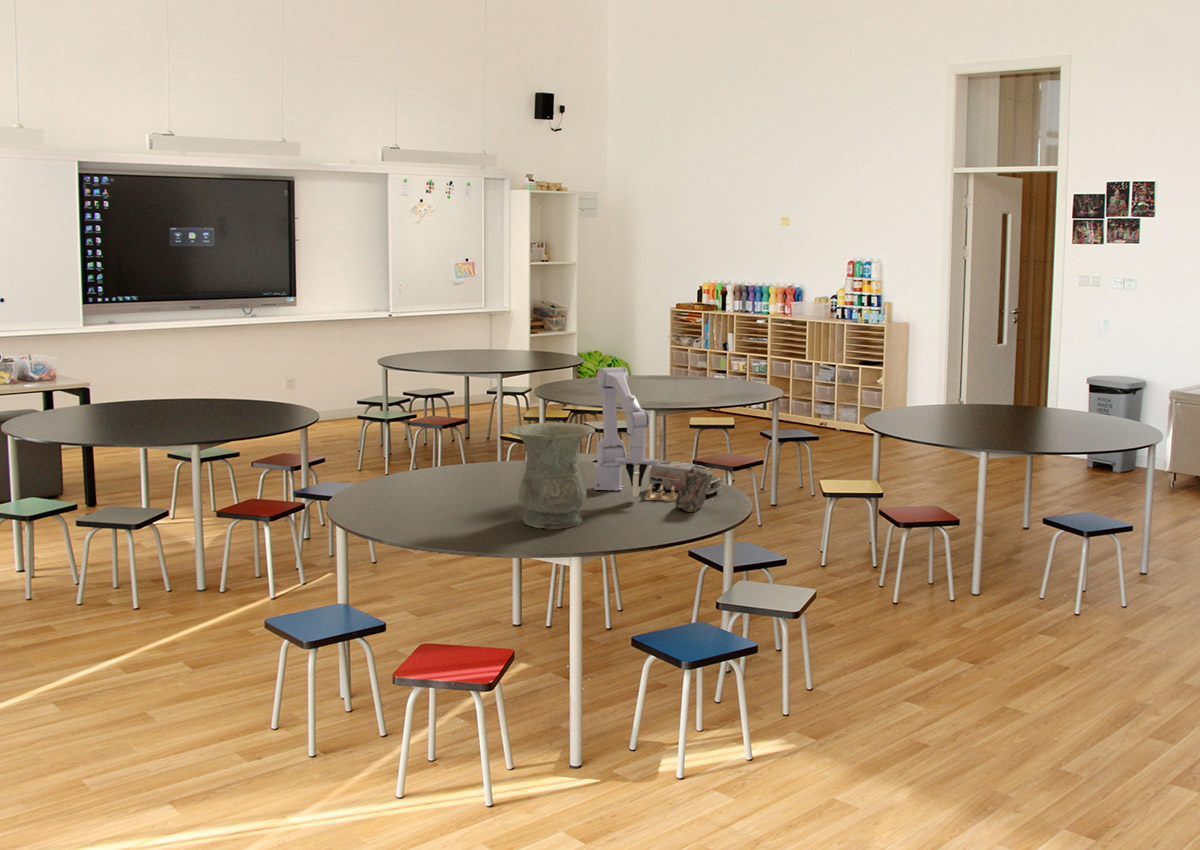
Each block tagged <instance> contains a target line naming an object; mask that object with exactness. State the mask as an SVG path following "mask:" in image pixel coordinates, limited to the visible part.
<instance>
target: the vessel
mask: <svg viewBox="0 0 1200 850" xmlns="http://www.w3.org/2000/svg"><path fill="white" fill-rule="evenodd" d="M595 432H596V429H595V427H593V426H590V425H588V424H582V423H581V424H580V423H570V422H568V423H567V422H539V423H537V422H536V423H532V424H531V423H530V424H522V425H516V426H513V427H510V428H509V429H508V433H509V434H510V435H512V436H515V437H518V438H520V440H522V442H523V445H524V447H525V451H526V464H525V471H524V473H523V474H524V475H523V477H522V479H521V480H520V486H519V490H518V501H519V503H520V504H521V506H522V507H523V508H524V509H525V510H527V513H526V515H524V517H522V519H523V520H522V521H523V524H525V525H526V526H528V527H531V526H532V527H533V528H536V529H541V528H545V529H544V530H563V529H562V528H565V529H570V528H569V527H571V528H574V527H573V526H575V527H577V525H578V526H580V525H581V524H582V523H583V518H582V516H581V515H580V514H578V513H579V512H578V510H579V509H581V508H582V507H583V506H584V505H585V504H586V501H587V496H588V495H587V489H586V484H585V480H584V479H583V477H582V475H581V472H580V469H579V462H578V451H579V446H580V444H581V442H582V440H583V439H584V438H585V437H587V436H590V435H592V434H594V433H595ZM581 522H582V523H581ZM580 523H581V524H580ZM579 524H580V525H579ZM532 527H531V528H532Z"/></svg>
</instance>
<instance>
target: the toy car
mask: <svg viewBox="0 0 1200 850" xmlns="http://www.w3.org/2000/svg"><path fill="white" fill-rule="evenodd" d="M694 465H696V464H695V463H688V462H679V461H670V460H664V461H658V466H652V465H651V468H650V470H649V474H648V484H647V486H648V487H649V485H650V484H652V488H655V491H656V490H660V487H661V484H663V485H664V490H663V491H671V489H672V486H673V485H675V492H679V490H680V489H681V487H682V485H683V483H684V481H685V479H686V478H687V476H688V474H689V472H690V470H691V468H692V467H693V466H694ZM699 466H701V467H704V466H703V465H700V464H699ZM721 484H722V479H721V478H720V477H719V476H715V475H713V476H712V479H711V482H710V484H709V487H708V489H707V493H706V496H705V499H706V498H707V495H711V494H714V495H715V494H716V495H717V494H718V493H719V490H720V489H721V488H722V486H721Z"/></svg>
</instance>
